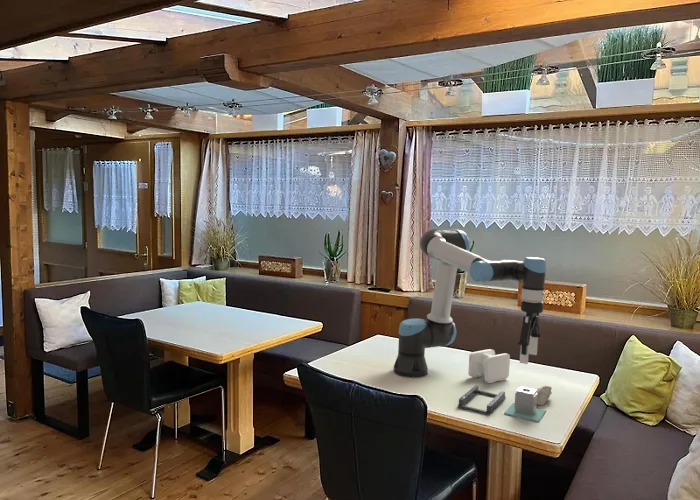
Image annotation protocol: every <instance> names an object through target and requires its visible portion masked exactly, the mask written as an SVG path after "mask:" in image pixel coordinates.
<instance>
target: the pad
mask: <svg viewBox="0 0 700 500" xmlns="http://www.w3.org/2000/svg"><path fill="white" fill-rule="evenodd" d="M514 405H515V402H512V404H511V405H510V406H508V408H507V409H506V410H505V411H504V413H503V415H506V416H509V417H514V418H519V419H523V420H526V421H527V420H528V421H530V422H536V423H539V422H540V421H541V420H542V418H543V416H544V415H545V414H546V412H547V410H546V409H544V408H543V409H542V408H537V409H536V411H535V412H534V414H533V415H532V416H529V415H524V414H520V413H516V412H515V409H514ZM540 419H541V420H540Z"/></svg>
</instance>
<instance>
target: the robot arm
mask: <svg viewBox="0 0 700 500" xmlns="http://www.w3.org/2000/svg"><path fill="white" fill-rule="evenodd" d="M419 248H420V250H421V252H422V253H423V254H424V255H425V256H427V257H429V258H431V259H435V260H436V262H437V268H436V274H435V283H434V289H433V295H432V301H431V302H432V303H431V309H430V313H428V314H427V315H426V320H425V319H423V318H418V317H417V318H408V319H404V320H402V321H401V322H400V323H399V328H398V349H397V350H398V351H397V356H396V360H395V362H394V365H393V373H394V374H395V375H398V376H399V377H403V378H404V377H405V378H422V377H425V376H427V375H428V373H429V372H428V371H429V369H428V365H427V360H426V356H425V349H430V348H439V347H440V348H441V347H446V346H449V345H451V344H452V343H453V342H454V341H455V339H456V337H457V328H456V324H455V322H454V321H453V317H451V311H452V304H453V297H454V292H455V285H456V279H457V271H458V269H459V270H461V271H463V272H465V273H467V274H469V275H470V277H471V279H472V280H473V281H475V282H479V283H487V282H488V283H489V282H490V283H491V282H507V281H514V282H520V283H522V284H521V296H520V297H521V301H520V311H522V312H524V313H526V314H525V315H524V316H523V318H522V327H521V332H520V338H519V341H518V343H517V344H518V345H519V346H520V348H519V349H520V351H519V364H525V365H528V364H529V355H532V356H537V355H538V343H539V341H538V340H539V338H541V334H540V316H539V315H540V314H541V313H543V312H544V302H543V301H544V300H545V299H544V298H545V297H544V296H546V295H547V294H546V292H545V284H546V274H547V273H546V272H547V261H546V259H545V258H542V257H536V256H535V257H533V256H526V257H524V259H523V261H520V260H515V259H513V258H510V259H509V258H504V259H501V260H490V259H486V258H484V257H482V256H480V255H478V254H475V253H473V252H471V251H470V248H471V242H470V238H469V237H468V235H467V233H466V232H465V231H464V230H461V229H455V228H449V229H448V228H447V229H446V228H440V229H439V228H438V229H437V228H435V229H434V228H432V229H430V230H428V231H426V232H424V233H423V234H422V235H421V237H420V240H419Z"/></svg>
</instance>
